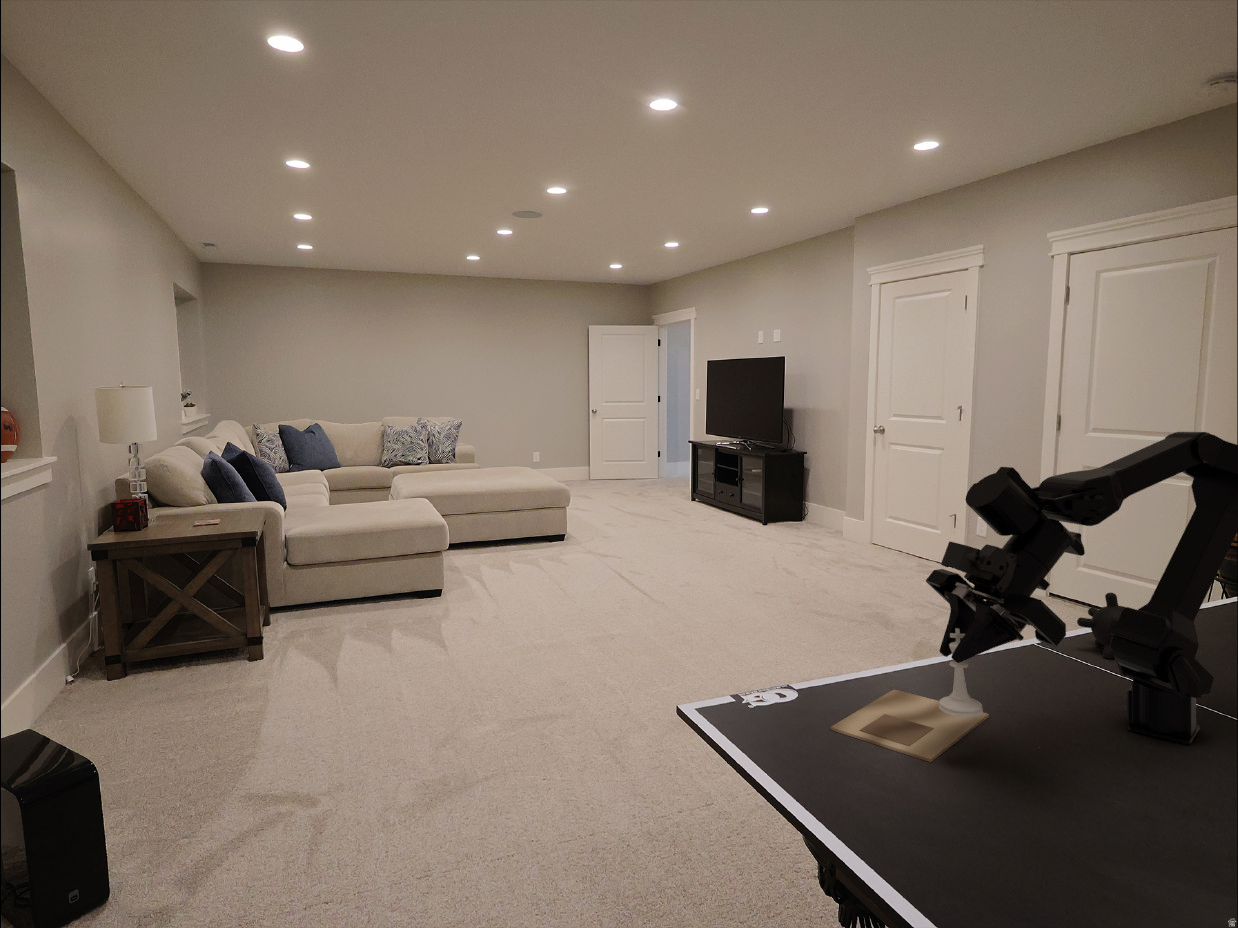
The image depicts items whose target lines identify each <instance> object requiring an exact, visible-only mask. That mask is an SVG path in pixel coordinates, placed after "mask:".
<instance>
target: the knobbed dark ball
mask: <svg viewBox="0 0 1238 928" xmlns="http://www.w3.org/2000/svg"><path fill="white" fill-rule="evenodd" d="M1104 597H1105V602H1106V603H1105V604H1106V606H1103V607H1101V608H1100V609H1098V608H1096V607H1092V606H1091V607H1089V608H1088V610H1087V613H1088V614H1087V615H1089V616H1090V617H1091V618H1087V617H1078V619H1077V621H1076V623H1077V626H1079V627H1082V628H1087V629H1090V631H1091V632H1092V635H1093V637H1094V645H1095V646H1096V647H1098V648H1101V649H1102V648H1103V650H1102V656H1103V657H1104V658H1105V659H1108V660H1112V659H1113V658H1114V656H1113V652H1112V650H1111V649H1110V644H1111V640H1112V637H1113V635H1114V634H1111V633H1110V632H1111V631H1112V630H1113V629H1114V628H1115V626H1116V625H1117V623H1118V621H1119V618H1120V615H1121V612H1122V611H1123V610H1124V609H1125V608H1126V607H1127V606H1123V605H1119V602H1118V596H1117V594H1116V593H1114V592H1107V593H1106V594H1105V595H1104Z"/></svg>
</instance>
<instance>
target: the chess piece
mask: <svg viewBox="0 0 1238 928" xmlns="http://www.w3.org/2000/svg"><path fill="white" fill-rule="evenodd" d="M955 631H956V633H950V638H956V642H952V643H950V644H949V647H950V649H951V652H952V654H953V653H954V651H955V649H956V647H957V646H958V644H959V643H960V638H963V637H964V635H965V634H960V629H958V628H955ZM952 654H951V655H952ZM948 665H949V666H950V667H953V668H954V675H953V687H952V692H951V693H950V694H949V695H947V696H944V697H942V698H940V699H939V700H938V701H939V709H940V710H941V711H943V712H945V713H947V714H950V715H954V716H961V717H973V716H978V715H980V714H982V713H983V712H984V709H983V705H982V703H981V702H980V701H978V700H976V699H975V698H972V696H971V695H970V694H968V693H969V692H968V690H967V684H966V679H965V672H964V669H966V668H968V667H969V664H968V662H967V661H966V660H965V661H962V662H960V663H957V662H955V661H954V660H953V659H952V660H950V661H949V664H948Z"/></svg>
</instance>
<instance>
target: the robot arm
mask: <svg viewBox="0 0 1238 928" xmlns="http://www.w3.org/2000/svg"><path fill="white" fill-rule="evenodd" d="M1180 473H1181V474H1182V473H1183V474H1185V475H1186V476H1189V477H1191V478H1192V483H1191V491H1192V492H1191V493H1192V496H1193V501H1194V504H1195V508H1194V510H1193V512H1192V514H1191V517H1190V518H1189V521H1188V523H1187V525H1186V527H1185V529H1184V530H1183V533H1182V535H1181V537H1180V538H1179V541H1178V543H1177V545H1176V547H1175V548H1174V551H1173V554H1172V555H1171V558H1170V559H1169V560H1168V561H1169V562H1168V563H1167V565H1166V568H1164V572H1163V573H1162V575H1161V577H1160V580H1158V581H1159V582H1158V583H1157V586H1156V587H1155V590H1154V592H1153V593H1152V595H1151V598H1150V600H1148V602H1147V603H1146V604H1144V605H1143V606H1141V607H1140V608H1138V609H1135V608H1131V607H1128V606H1125V607H1126V608H1125V609H1124V610H1123V611H1122V612H1121V615H1120V618H1119V621H1118V623H1117V625H1116V626H1115V628H1114V629H1113V630H1112V631H1111V632H1110V633H1111V634H1114V635H1113V637H1112V640H1111V644H1110V649H1111V650H1112V652H1113V656H1114V657H1113V658H1114V660H1115V661H1116V665H1117V667H1118V669H1119V673H1120V675H1121V676H1124V677H1128V678H1129V679H1130V678H1131V679H1132V681H1131V687H1130V688H1129V689H1128V690H1127V691H1126V704H1127V705H1126V709H1127V710H1126V712H1127V714H1126V719H1127V721H1128V722H1130V723H1129V724H1128V729H1127V730H1129V731H1131V732H1135V733H1140V734H1144V735H1147V736H1152V737H1156V738H1159V739H1164V740H1167V741H1168V740H1169V741H1172V742H1177V743H1181V744H1186V745H1190V744H1192V742H1193V741H1194V739H1195V738H1196V736H1197V734H1198V732H1199V731H1200V726H1201V725H1200V724H1198V723H1197V699H1200V698H1202V697H1203V695H1207V694H1210V692H1211V690H1212V686H1213V682H1214V680H1215V679H1214V676H1213V675H1212V674H1211V673H1210V672H1209V671H1208V670H1207V669H1206V668H1205V667H1204V666H1203V665H1202V664H1201V663H1200V662H1199V661H1198V660H1197V659H1196V655H1197V652H1198V649H1199V646H1200V645H1199V639H1198V633H1197V631H1196V626H1195V619H1196V617H1197V615H1198V613H1199V611H1200V609H1201V607H1202V605H1203V603H1204V601H1205V598H1207V597H1206V596H1207V595H1208V593H1209V592H1210V588H1211V587H1212V585H1213V583H1214V580H1215V578H1216V576H1217V574H1218V572H1219V570H1220V568H1221V566H1222V565H1223V563H1224V561H1225V559H1226V557H1227V554H1228V552H1229V550H1230V548H1231V546H1232V544H1233V542H1234V540H1235V538H1236V536H1237V533H1238V444H1236V443H1233V442H1230V441H1227V440H1225V439H1222V438H1220V436H1219V437H1218V436H1217V435H1214V434H1211V433H1209V432H1206V431H1176V432H1173V433H1169V434H1168V435H1166V436H1165V438H1164V439H1161V440H1158V441H1156V442H1155V443H1152V444H1150V445H1148V446H1145V447H1143V448H1141V449H1138V450H1136V451H1134V452H1132V453H1130V454H1127V455H1125V456H1123V457H1121V458H1118V459H1116V460H1114V461H1111V462H1109V463H1107V464H1104V465H1102V466H1100V467H1096V468H1092V469H1086V470H1076V471H1070V472H1065V473H1060V474H1056V475H1051V476H1048V477H1047V478H1045V479H1044V480H1042V481H1041V482H1040V483H1039V486H1034V487H1031V486H1030V485H1029V484H1028V483H1027V482H1026V481H1025V480H1024V479H1023V477H1022V476H1021V475H1020V472H1018V471H1017V470H1016V468H1015V467H1011V466H1000V467H999V468H998V469H997V471H996V472H994V473H990V474H989V475H987V476H984V477H983V478H981V479H980V480H979V481H977V482H975V483H973V484H972V485H971V487H970V488H969V490H968V491H967V492H966V495H965V503H966V505H967V506H968V507H969V508H970V509H971V510H972V511H973V512H974V513H976V515H978V516H979V518H981V519H982V520H983V521H984V523H986V525H988V526H989V527H990V529H992V530H993V531H994V533H996V534H997V535H999V536H1002V537H1008V536H1010V537H1009V538H1008V540H1007V541H1006V542H1005V544H1004V545H1002V547H998V546H995V545H991V544H985V545H984V546H982V548H981V549H979V548H976V547H973V546H969V545H966V544H962V543H958V542H955V541H949V542H948V544H947V547H946V548H945V549H946V550H945V552H944V554H943V556H942V557H943V558H942V560H941V563H940V565H941V566H943V567H945V568H952V569H955V570H957V571H959V572H962V573H965V574H964V575H963V577H964V578H963V577H962V575H960V574H959V573H957V572H953V571H950V570H947V569H943V568H940V569H934V570H933V571H931V573H930V575H928V577H927V578H926V579H925V582H926V584H927V585H928V586H930V587H931V588H932V589H933V590H934V591H935V592H936V593H937V594H938V595H939V596H940V597H941V598H943V600H945V602H947V603H948V604H949V607H950V608H949V609H950V612H949V616H948V617H949V618H948V622H947V625H946V628H945V631H944V635H943V638H942V641H941V643H940V648H939V653H940V654H941V655H942V656H943V657H945V658H948V657H949V656H950V655H951V659H952V660H954V661H955V662H957V663H960V662H962V661H965V662H966V661H967V660H969V659H971V658H973V657H976V656H979V655H980V654H983V653H984V652H987V651H990V650H992V649H995V648H997V647H1000V646H1002V645H1005V644H1006V645H1007V644H1009V643H1011V642H1014V641H1016V640H1017V641H1023V640H1024V639H1025V637H1024V636H1023V634H1021V633H1022V632H1023V631H1024V629H1025V628H1026V627H1027V626H1031V627H1032V628H1033V629H1035V630H1034V633H1035V639H1036V640H1037V641H1038V642H1040V643H1042V644H1043V643H1044V644H1046V645H1048V646H1049V647H1050V646H1051V647H1053V648H1056V649H1057V647H1058V646H1059V645H1060V644H1061V643H1062V641H1063V640H1064V639H1065V637H1066V636H1067V625H1066V623H1065V622H1064V620H1062V619H1061V618H1060V617H1059V616H1058V615H1057V614H1056V613H1055V612H1054V611H1053V610H1052V609H1051V608H1050V607H1049V606H1048V605H1047V604H1045V602H1044V601H1042V599H1039V598H1036V597H1033V596H1032V595H1033V593H1034V592H1035V591H1036V590H1037V589H1038V590H1041V591H1046V590H1047V589H1048V588H1049V586H1050V585H1051V584H1050V582H1049V581H1047V580H1046V579H1045V578H1046V577H1047V576H1048V574H1049V573H1050V572H1051V570H1053V568H1054V566H1055V565H1056V564H1058V561H1059V560H1060V559H1061V558H1062V557H1063V555H1064V554H1065V553H1066V554H1071V555H1075V556H1080V557H1083V556H1084V555H1085V554H1086V552H1085V545H1084V544H1083V541H1082V533H1080V532H1075V531H1070V530H1068V528H1067V527H1066V526H1065V525H1064V524H1063V523H1068V524H1074V525H1080V526H1085V527H1092V526H1097V525H1099V524H1101V523H1102V522H1103V521H1105V520H1107V519H1108V518H1109V517H1111V516H1112V515H1114V514H1115V513H1117V512H1118V511H1119V510H1120V509H1121V507H1122V504H1123V502H1124V501H1125V500H1126V499H1128V498H1129V497H1131V496H1133V495H1134V494H1137V493H1139V492H1141V491H1143V490H1146V489H1148V488H1150V487H1153V486H1155V485H1156V484H1159V483H1161V482H1163V481H1166V480H1167V479H1170V478H1172V477H1174V476H1177V475H1179V474H1180ZM966 580H967V581H966ZM970 583H971V584H972V585H971V584H970ZM955 628H958V629H960V634H965V635H964V637H963V638H960V643H959V644H958V646H957V647H956V649H955V651H954V653H953V654H952V652H951V649H950V647H949V644H950V643H952V642H956V638H950V633H956V631H955Z"/></svg>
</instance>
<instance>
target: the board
mask: <svg viewBox="0 0 1238 928" xmlns="http://www.w3.org/2000/svg"><path fill="white" fill-rule="evenodd" d="M939 701H940V700H937V699H932V698H928V697H925V696H921V695H919V694H918V695H917V694H913V693H909V692H906V691H902V690H897V689H893V690H892V689H891V690H890V691H889V692H887V693H885V694H883V695H881V696H880V697H879V698H877V699H875V700H874V701H872V702H870V703H868V704H866V705H865V706H864V707H862V708H860V709H859V710H857V711H854V713H852V714H850V715H849V716H847V717H845V718H843V719H841V720H840V721H838V722H836V723H835V724H833V725H831V726H830V731H833V732H837V733H839V734H842V735H845V736H849V737H852V738H855V739H858V740H861V741H863V742H867V743H870V744H874V745H877V746H880V747H882V748H885V749H889V750H892V751H894V752H897V753H900V754H904V755H907V756H911V757H913V758H915V759H919V760H921V761H925V762H929V763H932V762H933V761H935V760H936V759H937V758H938V757H940V756H941V755H942V754H943V753H945V752H946V751H947V750H948V749H950V748H951V747H952V746H953V745H955V744H957V742H958V741H960V740H962V738H964V737H965V736H966V735H968V734H969V733H971V732H972V731H973V730H974V729H976V727H978V726H980V724H981V723H983V722H984V721H985V720H986V719H988V718H990V714H989V713H987V712H984V711H983V713H982V714H980V715H978V716H973V717H961V716H954V715H950V714H947V713H945V712H943V711H941V710H940V709H939Z"/></svg>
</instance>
